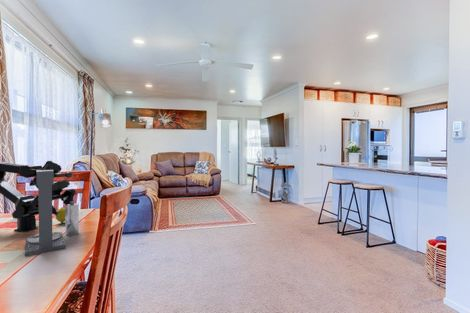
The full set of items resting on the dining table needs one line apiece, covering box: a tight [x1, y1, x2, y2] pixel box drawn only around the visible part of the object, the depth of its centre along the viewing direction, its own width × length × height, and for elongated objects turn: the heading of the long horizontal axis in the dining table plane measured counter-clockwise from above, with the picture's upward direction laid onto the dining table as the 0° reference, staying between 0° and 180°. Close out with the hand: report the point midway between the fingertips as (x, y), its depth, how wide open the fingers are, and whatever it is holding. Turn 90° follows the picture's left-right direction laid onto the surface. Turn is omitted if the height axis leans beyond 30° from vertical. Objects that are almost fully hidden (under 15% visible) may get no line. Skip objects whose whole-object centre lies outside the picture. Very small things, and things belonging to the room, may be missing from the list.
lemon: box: [55, 206, 65, 224], centre depth 130 cm, size 6×6×8 cm
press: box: [24, 170, 73, 257], centre depth 101 cm, size 19×15×30 cm
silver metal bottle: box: [64, 200, 80, 237], centre depth 114 cm, size 5×5×14 cm
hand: (66, 211), depth 114 cm, fingers open, 9 cm apart
